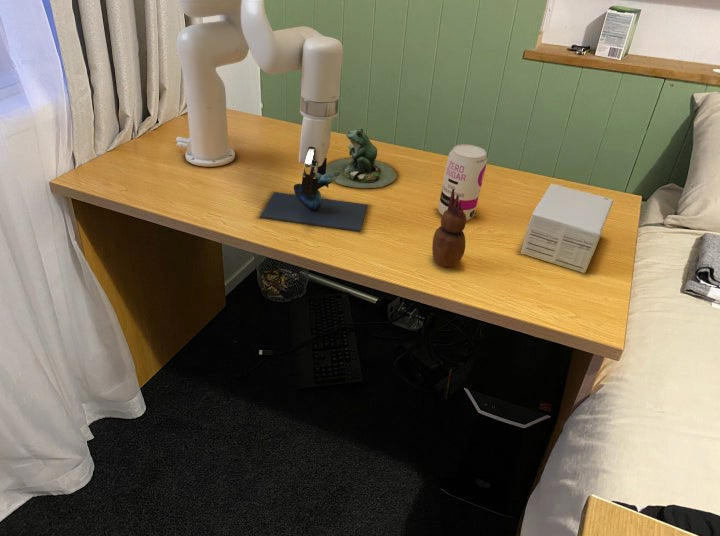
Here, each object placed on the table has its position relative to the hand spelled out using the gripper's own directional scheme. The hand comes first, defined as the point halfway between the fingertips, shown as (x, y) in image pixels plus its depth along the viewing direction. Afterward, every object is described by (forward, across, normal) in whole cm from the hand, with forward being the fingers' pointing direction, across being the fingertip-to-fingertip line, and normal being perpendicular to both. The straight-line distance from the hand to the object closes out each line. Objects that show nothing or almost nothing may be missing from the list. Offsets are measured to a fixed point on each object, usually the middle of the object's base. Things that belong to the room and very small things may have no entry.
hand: (313, 183), depth 123 cm
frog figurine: (+7, -22, +8) cm, 25 cm away
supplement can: (+6, -8, +32) cm, 33 cm away
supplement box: (+5, 0, +54) cm, 54 cm away
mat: (+6, 0, +1) cm, 7 cm away
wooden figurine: (+6, +14, +30) cm, 33 cm away
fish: (+6, 0, +1) cm, 6 cm away
